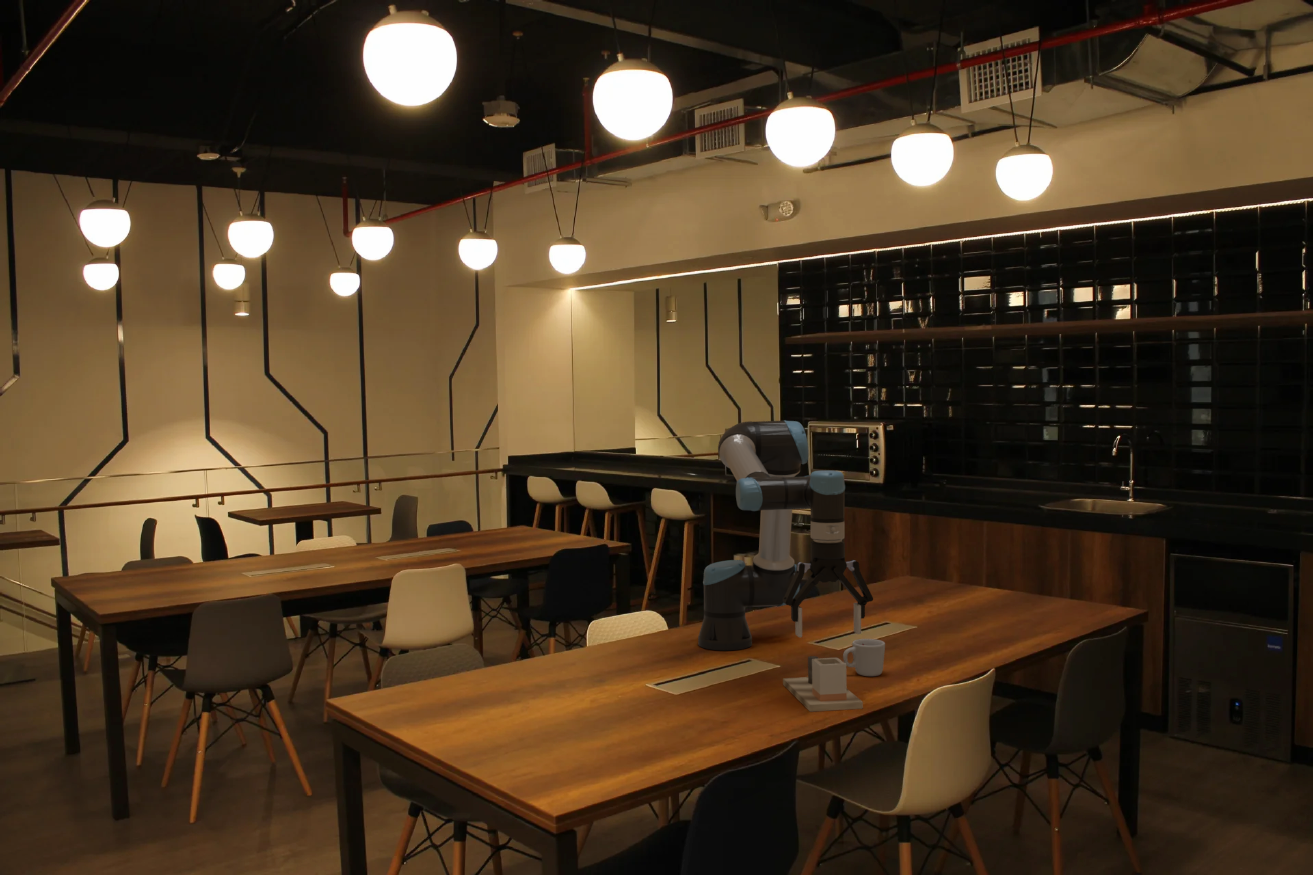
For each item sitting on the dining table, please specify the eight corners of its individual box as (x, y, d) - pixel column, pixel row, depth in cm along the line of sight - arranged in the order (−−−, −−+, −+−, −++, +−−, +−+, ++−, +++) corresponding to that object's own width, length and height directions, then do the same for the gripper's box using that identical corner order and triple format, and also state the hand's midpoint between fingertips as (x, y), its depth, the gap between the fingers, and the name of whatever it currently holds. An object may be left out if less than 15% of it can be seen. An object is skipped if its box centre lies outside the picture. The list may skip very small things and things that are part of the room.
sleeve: (812, 693, 227) (811, 658, 226) (837, 692, 227) (837, 657, 227) (820, 701, 221) (820, 665, 220) (846, 699, 221) (846, 663, 221)
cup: (851, 680, 243) (850, 647, 243) (836, 672, 250) (836, 640, 250) (891, 676, 246) (890, 644, 245) (875, 668, 253) (875, 637, 253)
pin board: (783, 684, 240) (782, 653, 240) (831, 681, 242) (830, 651, 241) (810, 711, 218) (809, 677, 218) (862, 708, 220) (862, 674, 220)
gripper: (777, 544, 218) (778, 640, 218) (887, 540, 221) (887, 635, 222) (768, 539, 225) (769, 632, 226) (875, 535, 229) (875, 627, 229)
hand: (828, 634), depth 224 cm, fingers open, 13 cm apart
